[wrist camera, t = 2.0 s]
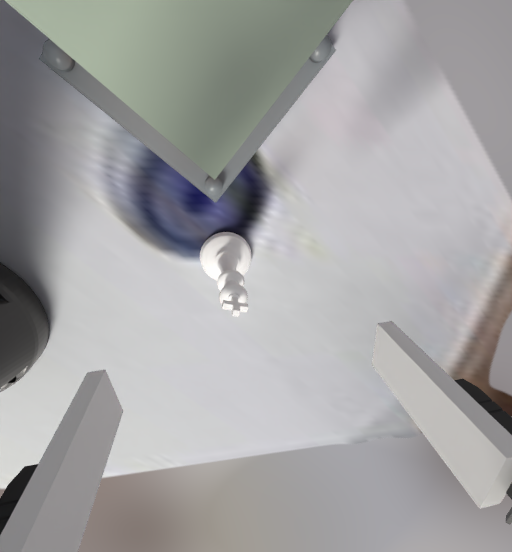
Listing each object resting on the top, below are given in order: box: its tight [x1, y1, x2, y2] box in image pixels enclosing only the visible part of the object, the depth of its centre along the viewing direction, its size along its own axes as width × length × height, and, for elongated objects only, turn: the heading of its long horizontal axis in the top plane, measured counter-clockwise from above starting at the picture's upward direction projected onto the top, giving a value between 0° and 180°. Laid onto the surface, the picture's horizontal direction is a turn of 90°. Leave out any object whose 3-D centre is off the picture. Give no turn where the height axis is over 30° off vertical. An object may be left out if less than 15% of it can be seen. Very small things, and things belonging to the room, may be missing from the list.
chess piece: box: [200, 232, 251, 317], centre depth 22 cm, size 5×5×10 cm
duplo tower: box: [5, 0, 353, 203], centre depth 15 cm, size 14×14×11 cm
